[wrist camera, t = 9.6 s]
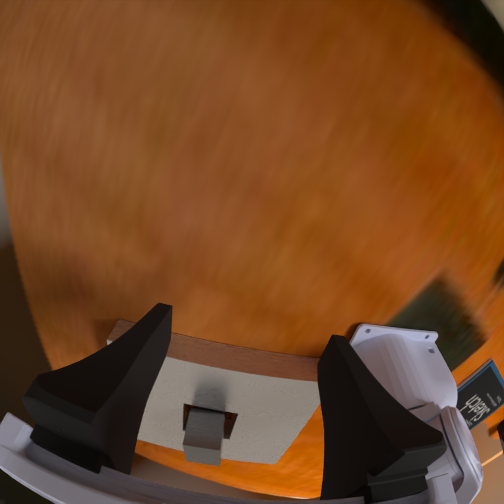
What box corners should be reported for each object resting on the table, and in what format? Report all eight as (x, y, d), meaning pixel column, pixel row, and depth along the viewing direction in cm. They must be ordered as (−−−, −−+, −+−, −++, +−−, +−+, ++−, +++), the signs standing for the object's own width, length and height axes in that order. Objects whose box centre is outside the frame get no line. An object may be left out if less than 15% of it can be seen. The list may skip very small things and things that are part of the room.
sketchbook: (509, 392, 32) (513, 399, 31) (388, 470, 43) (390, 478, 42) (489, 355, 27) (495, 364, 25) (327, 458, 38) (328, 468, 36)
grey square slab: (328, 359, 26) (332, 383, 23) (275, 446, 35) (275, 464, 32) (119, 318, 25) (106, 339, 22) (136, 420, 34) (130, 436, 31)
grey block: (228, 390, 29) (220, 450, 22) (226, 411, 31) (219, 465, 24) (195, 385, 29) (182, 444, 22) (197, 407, 31) (186, 460, 24)
